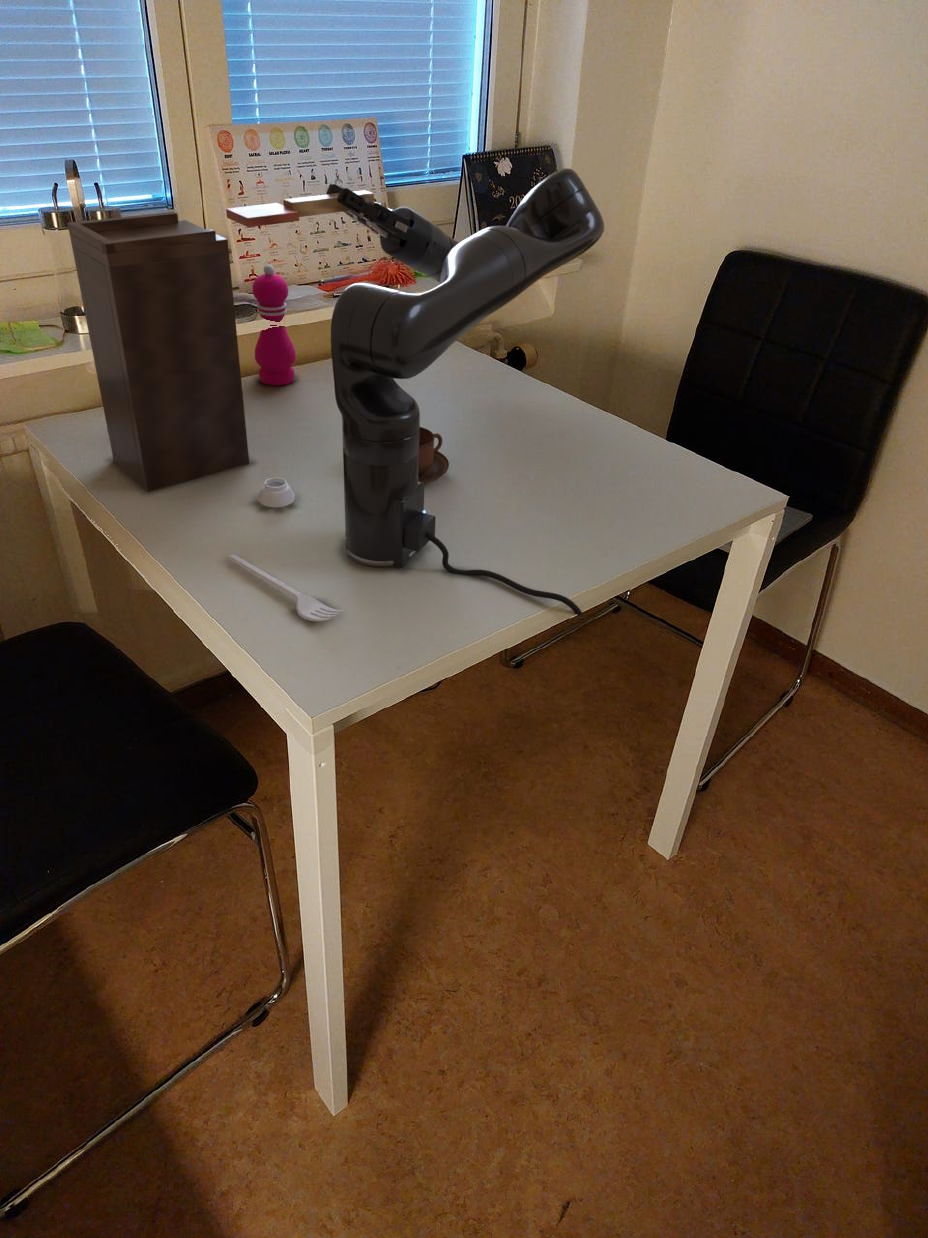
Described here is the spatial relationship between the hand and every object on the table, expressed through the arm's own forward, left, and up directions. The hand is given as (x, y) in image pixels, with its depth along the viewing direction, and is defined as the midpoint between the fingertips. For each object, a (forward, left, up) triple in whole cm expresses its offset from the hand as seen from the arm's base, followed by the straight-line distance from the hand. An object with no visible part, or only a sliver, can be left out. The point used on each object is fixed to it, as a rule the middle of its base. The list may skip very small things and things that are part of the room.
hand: (335, 191), depth 129 cm
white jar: (-7, +29, -35) cm, 46 cm away
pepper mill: (+19, -9, -35) cm, 41 cm away
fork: (-20, +47, -35) cm, 63 cm away
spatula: (+2, +4, -2) cm, 6 cm away
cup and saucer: (-19, +12, -35) cm, 42 cm away
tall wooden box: (+12, +26, -35) cm, 45 cm away
